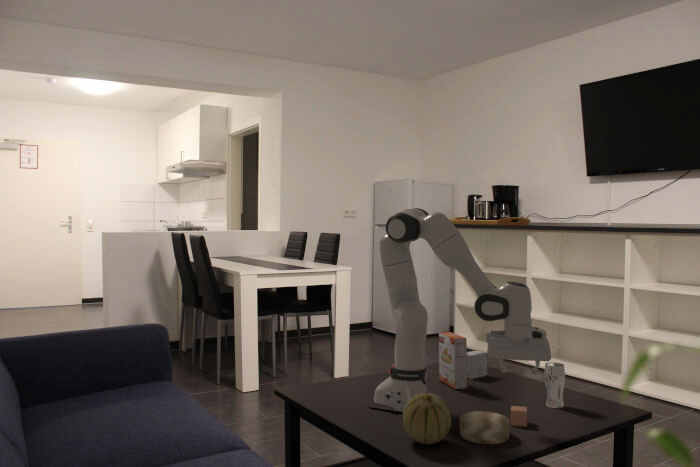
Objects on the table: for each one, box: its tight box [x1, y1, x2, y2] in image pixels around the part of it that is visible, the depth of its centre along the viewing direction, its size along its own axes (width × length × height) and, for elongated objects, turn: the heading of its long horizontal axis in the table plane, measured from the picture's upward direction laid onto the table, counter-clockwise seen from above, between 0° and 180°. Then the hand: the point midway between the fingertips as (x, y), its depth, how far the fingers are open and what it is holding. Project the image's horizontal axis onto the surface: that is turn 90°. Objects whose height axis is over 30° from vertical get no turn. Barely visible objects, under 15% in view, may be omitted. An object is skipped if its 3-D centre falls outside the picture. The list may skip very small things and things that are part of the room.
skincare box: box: [467, 350, 488, 380], centre depth 244 cm, size 10×6×10 cm, turn 128°
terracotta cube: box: [510, 405, 528, 428], centre depth 183 cm, size 5×5×5 cm
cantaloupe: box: [402, 392, 452, 445], centre depth 168 cm, size 15×15×15 cm
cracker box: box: [438, 331, 468, 390], centre depth 230 cm, size 14×6×21 cm, turn 17°
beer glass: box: [544, 361, 566, 409], centre depth 201 cm, size 7×7×15 cm
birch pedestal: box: [459, 410, 510, 445], centre depth 173 cm, size 15×15×5 cm
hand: (519, 373), depth 183 cm, fingers open, 8 cm apart
